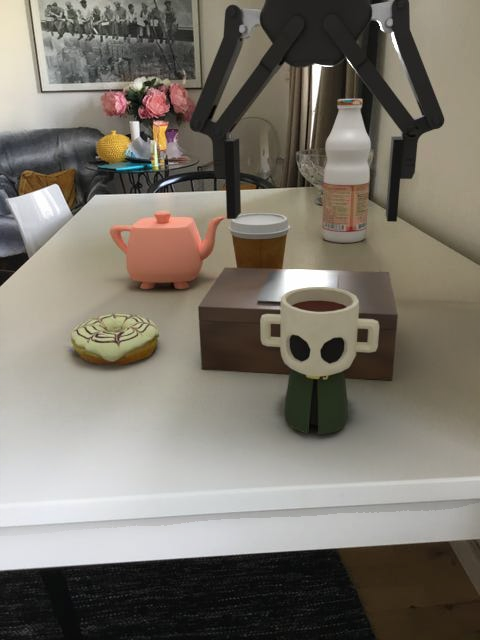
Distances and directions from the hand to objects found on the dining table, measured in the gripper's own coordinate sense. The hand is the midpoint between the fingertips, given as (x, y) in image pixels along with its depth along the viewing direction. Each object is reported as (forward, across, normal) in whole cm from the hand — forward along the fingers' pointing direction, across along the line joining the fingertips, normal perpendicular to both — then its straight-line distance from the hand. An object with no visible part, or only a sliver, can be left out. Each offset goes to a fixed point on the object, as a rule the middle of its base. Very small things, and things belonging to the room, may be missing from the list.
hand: (310, 217), depth 49 cm
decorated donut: (+20, -25, +12) cm, 35 cm away
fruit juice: (+20, +3, +72) cm, 75 cm away
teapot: (+20, -26, +40) cm, 52 cm away
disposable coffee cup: (+20, -10, +36) cm, 43 cm away
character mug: (+20, +1, -1) cm, 20 cm away
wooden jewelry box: (+20, -2, +16) cm, 26 cm away
